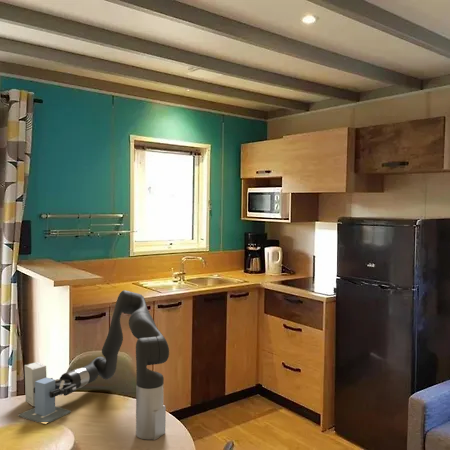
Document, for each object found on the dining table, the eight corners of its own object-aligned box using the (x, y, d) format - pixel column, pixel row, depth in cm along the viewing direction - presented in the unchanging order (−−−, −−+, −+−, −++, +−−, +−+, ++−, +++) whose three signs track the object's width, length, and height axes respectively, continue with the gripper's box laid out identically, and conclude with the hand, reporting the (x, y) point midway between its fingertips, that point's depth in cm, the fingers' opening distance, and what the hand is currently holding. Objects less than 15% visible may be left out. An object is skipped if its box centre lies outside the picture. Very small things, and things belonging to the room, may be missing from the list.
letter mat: (70, 412, 179) (70, 410, 179) (45, 424, 168) (45, 422, 168) (44, 404, 186) (44, 403, 185) (18, 416, 175) (18, 414, 175)
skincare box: (47, 403, 187) (47, 366, 186) (32, 407, 183) (32, 369, 182) (39, 397, 193) (39, 360, 192) (23, 401, 189) (24, 364, 188)
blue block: (55, 411, 178) (55, 379, 178) (44, 416, 174) (44, 384, 173) (45, 408, 180) (45, 377, 180) (34, 413, 176) (35, 381, 176)
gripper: (62, 367, 193) (28, 379, 179) (88, 373, 186) (55, 386, 172) (62, 385, 193) (28, 399, 179) (88, 392, 187) (55, 406, 172)
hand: (42, 392), depth 175 cm, fingers open, 8 cm apart
